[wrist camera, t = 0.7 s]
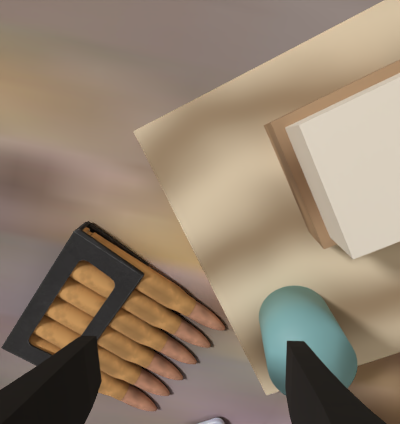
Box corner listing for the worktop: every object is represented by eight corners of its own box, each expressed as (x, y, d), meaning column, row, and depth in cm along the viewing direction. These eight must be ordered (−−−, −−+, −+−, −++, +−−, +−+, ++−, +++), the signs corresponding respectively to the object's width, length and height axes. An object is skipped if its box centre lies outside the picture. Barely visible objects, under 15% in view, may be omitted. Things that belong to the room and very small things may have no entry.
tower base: (426, 184, 18) (465, 193, 15) (309, 232, 19) (324, 249, 16) (386, 65, 17) (420, 49, 14) (263, 125, 18) (270, 122, 15)
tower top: (451, 188, 15) (506, 200, 12) (329, 237, 16) (353, 259, 13) (412, 66, 14) (462, 47, 11) (284, 127, 15) (299, 124, 12)
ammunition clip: (75, 228, 19) (234, 328, 21) (86, 219, 21) (231, 311, 22) (0, 348, 21) (147, 429, 23) (16, 331, 23) (151, 407, 25)
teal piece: (339, 333, 20) (369, 386, 16) (274, 355, 21) (287, 412, 17) (313, 275, 20) (338, 314, 15) (247, 300, 20) (253, 345, 16)
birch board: (498, 309, 20) (509, 316, 19) (265, 386, 23) (266, 395, 22) (398, -5, 16) (406, -12, 16) (137, 131, 19) (133, 131, 18)
